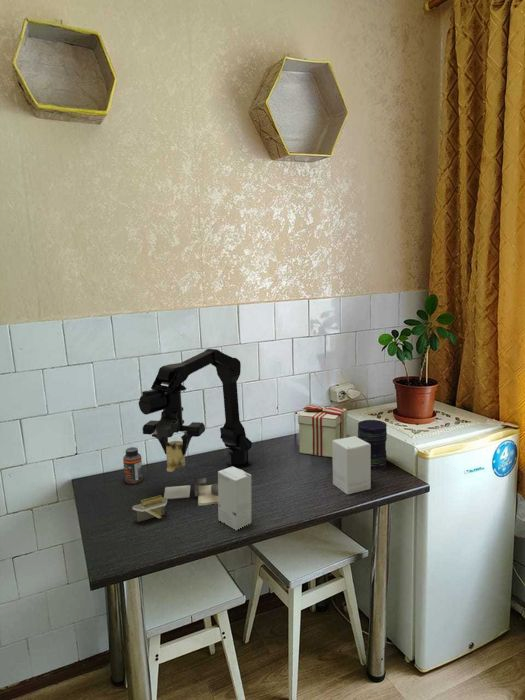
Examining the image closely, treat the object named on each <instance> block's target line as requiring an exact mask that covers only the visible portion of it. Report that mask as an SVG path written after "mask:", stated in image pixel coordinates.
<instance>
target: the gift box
mask: <svg viewBox="0 0 525 700" xmlns="http://www.w3.org/2000/svg"><path fill="white" fill-rule="evenodd" d="M302 409H303V410H304V411H303V412H302V413H299V415H298V416H297V424H298V433H299V435H298V438H299V453H300V454H304V455H305V454H306V455H310V456H311V455H312V456H319V457H326V458H333V455H332V441H333V440H337V439H342V438H347V437H348V436H347V435H348V434H347V433H348V432H347V431H348V430H347V429H348V427H347V425H348V424H347V418H348V409H347V408H343V407H342V408H341V407H339V406H331V407H328V406H320V405H317V404H314V403H313V404H312V403H311V404H306V405H305V406H304V407H303V408H302Z"/></svg>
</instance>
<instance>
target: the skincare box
mask: <svg viewBox="0 0 525 700" xmlns="http://www.w3.org/2000/svg"><path fill="white" fill-rule="evenodd" d="M217 483H218V504H217V506H218V507H217V511H218V512H217V514H218V515H217V517H218V521H219V522H220V521H221V522H220V523H222V524H224V523H225V524H224V525H226V526H229V528H231V529H232V530H234V529H235V530H234V531H238V529H239V530H241V529H242V527H243V528H245V527H247V526H249V525H251V524H252V474H250V473H248V472H246V471H244V470H243V469H240V468H235V467H233V466H230V467H227V468H226V467H225V468H224V469H221V470H218V471H217ZM250 523H251V524H250ZM248 524H249V525H248ZM246 525H247V526H246ZM244 526H245V527H244ZM240 528H241V529H240Z"/></svg>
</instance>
